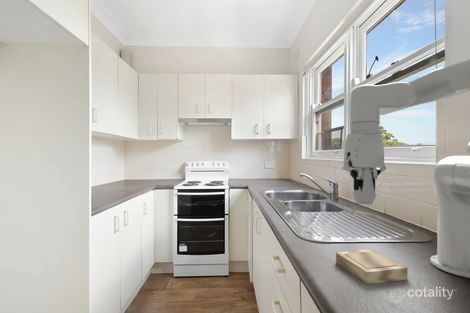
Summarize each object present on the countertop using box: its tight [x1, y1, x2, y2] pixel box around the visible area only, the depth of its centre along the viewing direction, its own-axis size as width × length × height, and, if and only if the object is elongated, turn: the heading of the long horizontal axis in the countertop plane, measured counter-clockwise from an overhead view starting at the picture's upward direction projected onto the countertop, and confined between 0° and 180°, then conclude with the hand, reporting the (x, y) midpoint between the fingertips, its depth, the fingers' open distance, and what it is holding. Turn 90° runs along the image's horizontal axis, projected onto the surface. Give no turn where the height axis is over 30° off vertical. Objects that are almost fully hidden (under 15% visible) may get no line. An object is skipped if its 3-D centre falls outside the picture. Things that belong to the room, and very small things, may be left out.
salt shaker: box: [352, 168, 377, 206], centre depth 68 cm, size 6×6×13 cm
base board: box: [335, 248, 408, 286], centre depth 64 cm, size 12×12×3 cm
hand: (364, 192), depth 68 cm, fingers closed on salt shaker, 3 cm apart
